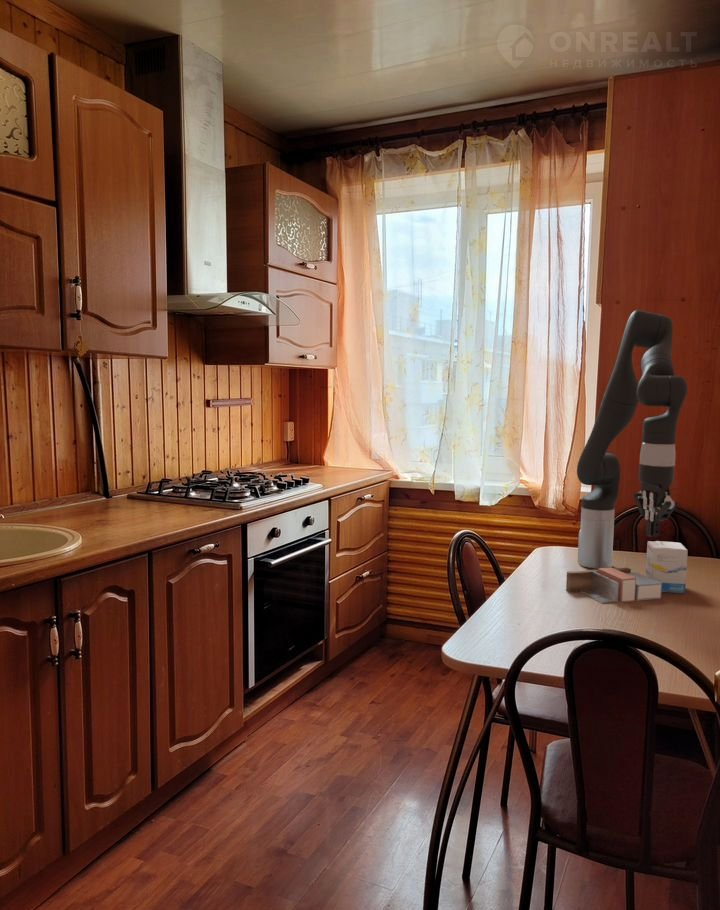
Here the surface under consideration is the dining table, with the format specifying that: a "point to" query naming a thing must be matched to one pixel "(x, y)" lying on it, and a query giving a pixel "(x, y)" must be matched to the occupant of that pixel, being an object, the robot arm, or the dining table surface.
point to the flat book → (646, 587)
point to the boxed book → (621, 583)
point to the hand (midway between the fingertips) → (652, 536)
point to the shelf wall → (584, 579)
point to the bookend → (602, 589)
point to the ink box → (667, 565)
